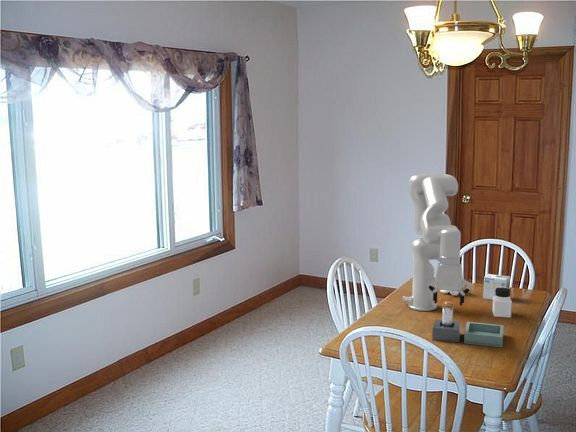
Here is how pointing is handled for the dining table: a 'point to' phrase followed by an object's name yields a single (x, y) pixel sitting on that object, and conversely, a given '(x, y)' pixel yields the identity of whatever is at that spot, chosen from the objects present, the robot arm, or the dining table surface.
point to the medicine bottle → (502, 303)
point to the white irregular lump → (451, 291)
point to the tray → (484, 334)
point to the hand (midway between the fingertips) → (448, 303)
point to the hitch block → (446, 331)
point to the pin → (447, 313)
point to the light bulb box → (494, 284)
